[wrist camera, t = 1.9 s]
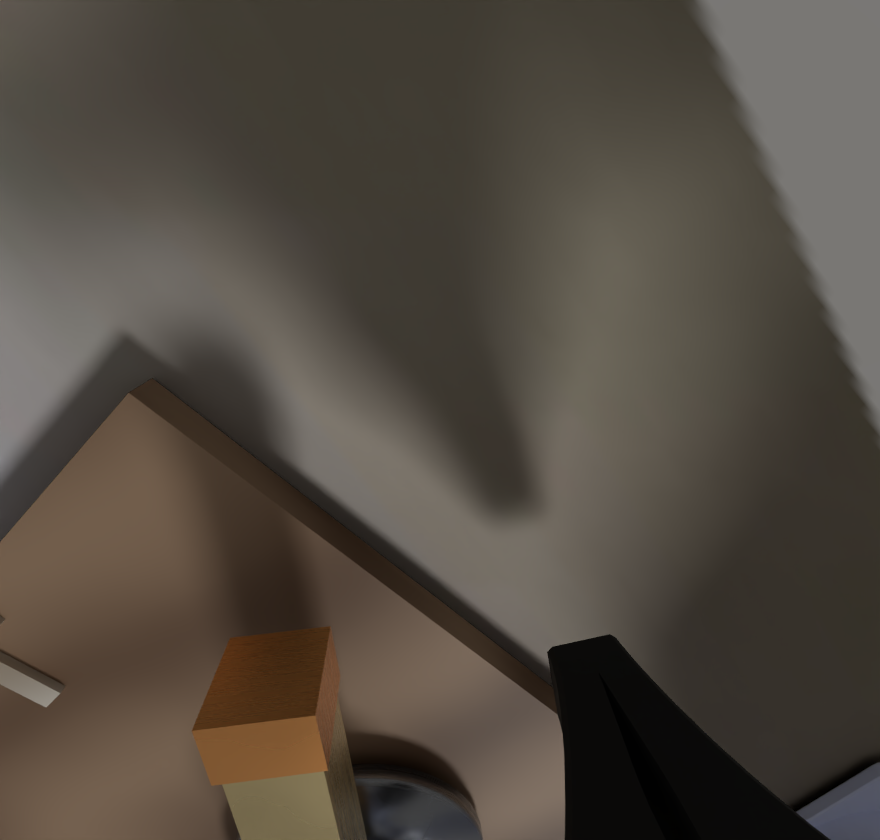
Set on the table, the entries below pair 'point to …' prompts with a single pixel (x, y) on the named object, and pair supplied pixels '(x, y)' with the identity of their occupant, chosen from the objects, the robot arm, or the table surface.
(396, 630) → the stand
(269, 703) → the lever door handle
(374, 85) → the table surface
